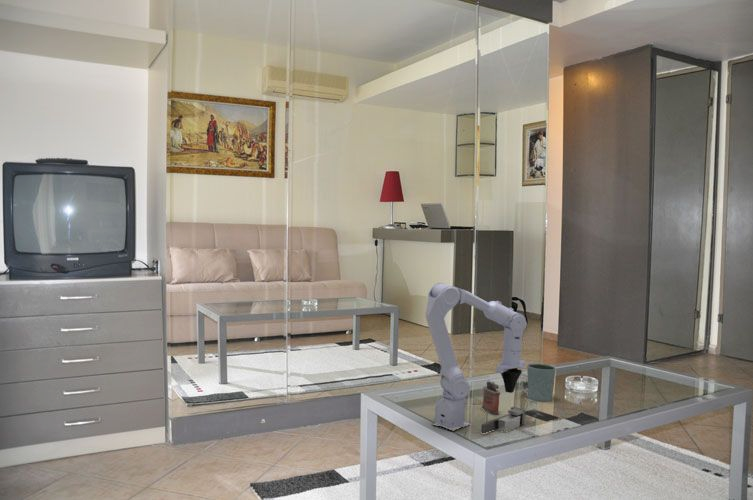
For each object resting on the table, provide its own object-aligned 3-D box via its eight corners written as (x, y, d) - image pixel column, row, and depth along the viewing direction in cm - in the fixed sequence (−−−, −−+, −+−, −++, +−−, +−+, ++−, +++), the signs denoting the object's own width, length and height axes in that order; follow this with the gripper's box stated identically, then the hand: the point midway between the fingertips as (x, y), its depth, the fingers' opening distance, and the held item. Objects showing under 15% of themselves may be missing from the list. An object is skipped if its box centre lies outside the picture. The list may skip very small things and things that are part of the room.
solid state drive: (546, 422, 197) (546, 420, 197) (521, 414, 205) (521, 412, 205) (558, 419, 201) (558, 417, 201) (533, 411, 209) (533, 409, 209)
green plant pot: (554, 403, 218) (556, 370, 217) (525, 400, 220) (527, 367, 219) (552, 396, 228) (554, 364, 227) (524, 393, 230) (526, 361, 229)
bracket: (493, 437, 178) (494, 421, 178) (481, 434, 181) (482, 418, 181) (524, 424, 192) (525, 409, 192) (512, 421, 195) (513, 406, 195)
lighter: (479, 407, 208) (481, 379, 207) (488, 407, 209) (490, 378, 208) (492, 415, 200) (494, 385, 200) (501, 414, 201) (503, 385, 201)
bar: (504, 432, 183) (505, 421, 183) (497, 430, 185) (498, 419, 185) (519, 426, 190) (520, 415, 190) (512, 424, 192) (513, 413, 192)
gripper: (511, 354, 184) (508, 398, 185) (534, 349, 195) (531, 390, 195) (491, 350, 189) (488, 393, 189) (515, 345, 200) (512, 386, 200)
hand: (509, 392), depth 193 cm, fingers closed
